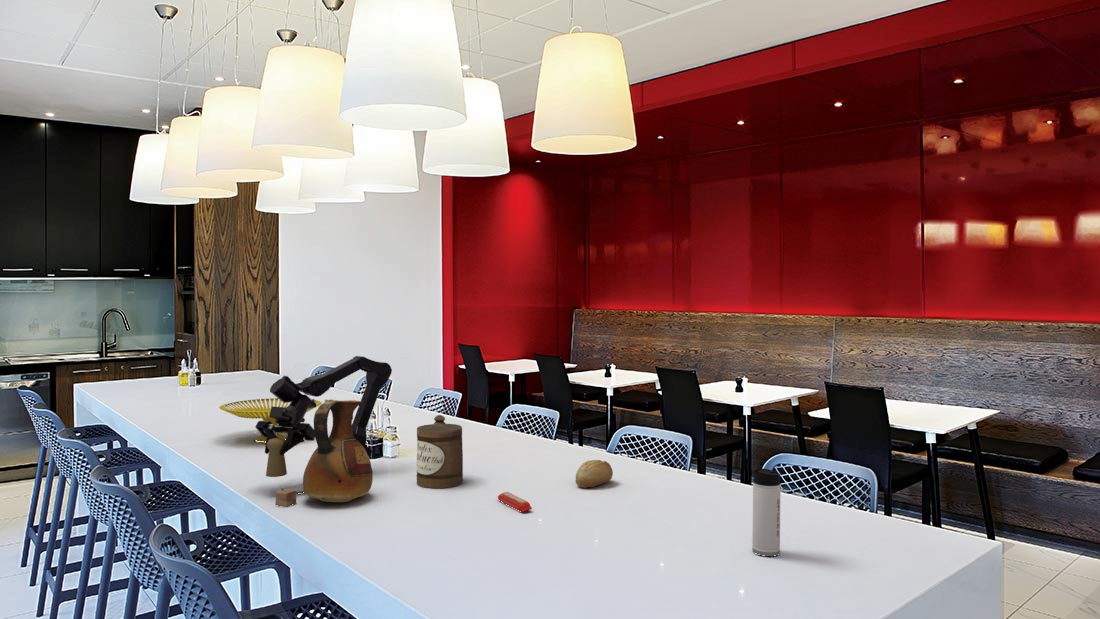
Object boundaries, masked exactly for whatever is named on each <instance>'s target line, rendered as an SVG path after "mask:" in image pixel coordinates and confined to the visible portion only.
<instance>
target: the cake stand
mask: <svg viewBox="0 0 1100 619" xmlns="http://www.w3.org/2000/svg"><path fill="white" fill-rule="evenodd" d="M314 400H315V403H316V405H317V406H316V407H314V408H308V410H307V412H310V411H312V410H314V409H316V408H317V407H319V406H320V405H321V404H323V402H322V401H320V400H317V399H314ZM253 403H254V404H253ZM289 404H290V402H287V403H283V402H282V401H281V400H280V399H278V398H277V397H273V398H258V399H257V398H255V399H245V400H239V401H234V402H232V401H231V402H227V403H224V404H221V405H220V406H219V407H218V408H219V409H220V410H222V411H225V412H226V413H229V414H231V415H234V416H236V417H238V418H243V419H262V421H271V423H272V424H273V425H274V426H278V425H279V424H278V423H276V422H275V420H276V419H274V418H272V417H271V418H270V417H269V414H270V411H271V407H284V408H287V406H289ZM262 405H263V406H262ZM266 405H267V406H266ZM307 412H306V413H307ZM277 437H278V438H282V439H284V440H285V439H286V438H287V436H286V435H284V434H283V433H277ZM255 439H256V440H257V441H264V442H265V441H266V437H263V436H262V435H260V436H259V437H256V438H255Z"/></svg>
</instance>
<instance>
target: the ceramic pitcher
mask: <svg viewBox="0 0 1100 619" xmlns="http://www.w3.org/2000/svg"><path fill="white" fill-rule="evenodd" d="M361 403H362V401H361V400H356V399H355V400H353V399H352V400H351V399H348V400H336V399H333V398H331V399H325V400H324V402H322V404H321V405H319V406H317V407H318V408H317V409H316V410H315V412H314V417H313V429H314V433H315V441H316V445H317V447H316V449H315V450H314V451H313V452H312V453H311V454H312V455H311V456H310V458H309V459H308V462H307V464H306V467H305V469H304V472H303V475H302V484H303V490H304V493H303V494H305V495H306V496H307V497H310V498H312V499H316V500H317V499H318V500H320V501H321V502H326V503H327V502H330V503H331V502H332V503H348V502H351V501H352V500H354V499H357V498H359V497H362V496H365V495H366V494H368V493H369V492H370V490H371V489H372V485H373V479H374V478H373V477H374V476H373V475H374V474H373V468H372V462H371V459H370V457H369V456H368V454H367V452H366V451H365V449H364V447H363V446H362V445H361V443H360V442H359V441H357V440H356V439H355V438H354V436H353V432H352V423H353V421H354V413H355V410H356V409H358V407H359V405H360V404H361ZM330 412H331V416H332V426H331V431H330V434H329V432H328V430H329V429H328V417H329V414H330Z"/></svg>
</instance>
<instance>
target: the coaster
mask: <svg viewBox="0 0 1100 619" xmlns="http://www.w3.org/2000/svg"><path fill="white" fill-rule="evenodd" d="M284 489H290V490H296V494H298V493H303V492H304V490H303V483H298V484H293V485H289V486H285V487H280V491H281V490H284ZM303 494H304V493H303ZM298 495H299V494H298Z"/></svg>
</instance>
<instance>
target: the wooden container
mask: <svg viewBox="0 0 1100 619" xmlns="http://www.w3.org/2000/svg"><path fill="white" fill-rule="evenodd" d="M433 420H434V422H433V423H431V424H423V425H420V426H417V427H416V439H417V440H416V485H417V486H419V487H421V488H425V487H426V489H447V488H446V487H450V488H454V487H453V486H455V487H457V485H458V486H460V485H462V484H463V482H464V472H463V470H464V462H463V461H464V457H463V455H464V454H463V426H462V425H460V424H455V423H446V422H445V420H446V418H445V416H444V415H443V414H442V415H441V414H437V415H436V416H435V417H434V418H433ZM461 483H462V484H461ZM459 484H460V485H459Z"/></svg>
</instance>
